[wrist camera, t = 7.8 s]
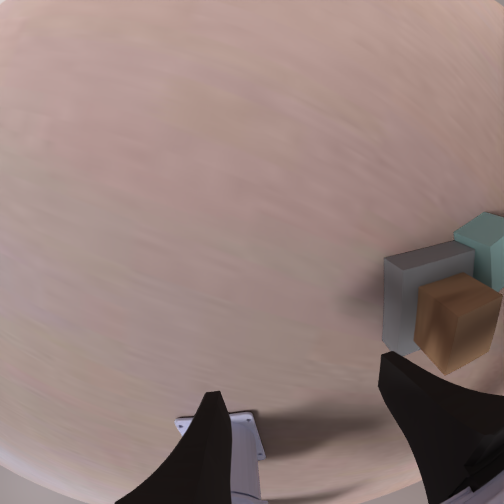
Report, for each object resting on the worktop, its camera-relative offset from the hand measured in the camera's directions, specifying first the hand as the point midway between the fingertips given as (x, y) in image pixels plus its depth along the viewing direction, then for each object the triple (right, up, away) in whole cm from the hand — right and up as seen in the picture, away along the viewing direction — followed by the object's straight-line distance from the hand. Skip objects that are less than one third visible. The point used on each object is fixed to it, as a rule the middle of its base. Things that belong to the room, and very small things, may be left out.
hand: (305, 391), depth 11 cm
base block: (+13, +3, +11) cm, 17 cm away
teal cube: (+19, +7, +10) cm, 23 cm away
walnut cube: (+13, +2, +8) cm, 15 cm away
